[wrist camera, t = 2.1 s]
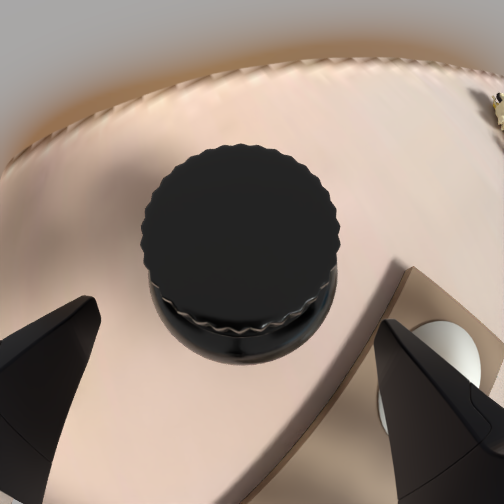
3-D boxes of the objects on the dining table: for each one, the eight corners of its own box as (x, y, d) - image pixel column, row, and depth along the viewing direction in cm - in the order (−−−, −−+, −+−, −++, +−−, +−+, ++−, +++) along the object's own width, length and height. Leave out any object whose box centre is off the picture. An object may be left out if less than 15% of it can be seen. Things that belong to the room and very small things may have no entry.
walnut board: (347, 563, 11) (351, 572, 9) (221, 519, 13) (219, 530, 12) (498, 348, 16) (509, 346, 15) (405, 270, 18) (415, 265, 17)
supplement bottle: (212, 370, 17) (137, 415, 5) (178, 268, 19) (87, 162, 7) (317, 332, 17) (422, 307, 6) (277, 234, 19) (306, 94, 8)
